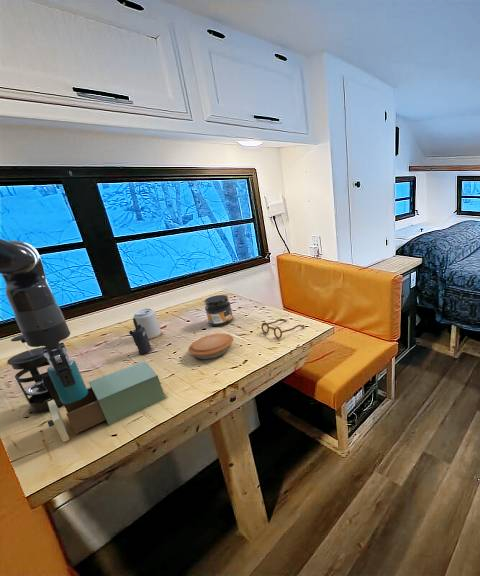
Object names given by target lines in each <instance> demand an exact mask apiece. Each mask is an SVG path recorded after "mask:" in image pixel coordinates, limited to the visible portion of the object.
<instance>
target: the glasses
mask: <svg viewBox="0 0 480 576" xmlns="http://www.w3.org/2000/svg"><path fill="white" fill-rule="evenodd" d="M280 321H283V322H287V320H286V319H284V318H279V319H277V320H275V321H271V322H262V323H261V331H262V333H264V334H268V333H269V331H270V330H273V334H274V337H275V338H276V339H281V338H282V337H283V333H286V332H287V333H288V332H290V331H294V330H295V329H297V328H299V327H300V328H302V329H304V328H305V326H303V325H302V324H297V325H295V326H294V327H292V328H288V329H285V330H282V329H281V328H280V327H279V326H277V327H272V326H269V325H272V324H276V323H278V322H280ZM264 326H266V328H267V330H266V331H265V329H264ZM276 330H279V333H280V334H279V336H278V335H277V333H276Z"/></svg>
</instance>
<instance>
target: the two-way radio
mask: <svg viewBox="0 0 480 576" xmlns="http://www.w3.org/2000/svg"><path fill="white" fill-rule="evenodd" d="M132 321H133V325H134V328H135V329H133V330H129V331H128V333H129V335H130V336H131V337H132V340H133V342H134V345H135V346H136V348H137V350H138V353H139V355H147V354H148V353H150V352H151V349H152V346H151V343H150V339H148V336H147V334H146V331H145V328H144V327H142V326H141V325H140V324H139V325H138V324H137V322H136V319H135V318H132Z"/></svg>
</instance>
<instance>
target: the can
mask: <svg viewBox="0 0 480 576" xmlns="http://www.w3.org/2000/svg"><path fill="white" fill-rule="evenodd" d="M133 314H134V315H133V318H135V319H136V322H137V324H138V325H139V324H140V325H141V326H142V327H144V328H145V331H146V334H147V336H148V339H149V340H152V339H155V338H158V337H159V336H160V335H161V333H162V329H161V326H160V323H159V320H158V317H157V313H156V311H154V310H153V308H143V309H139V310H136V311H135V312H134V313H133ZM133 318H132V319H133Z"/></svg>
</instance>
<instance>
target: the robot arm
mask: <svg viewBox="0 0 480 576" xmlns="http://www.w3.org/2000/svg"><path fill="white" fill-rule="evenodd" d="M43 264H44V263H43V261H42V258H41V256H40V254H39V252H38V250H37V249H36V247H34V246H33V245H31V244H29V243H28V242H24V241H21V240H4V239H3V238H0V275H1V276H2V278H3V280H4V282H5V295H6V298H7V300H8V303H9V305H10V307H11V309H12V311H13V314H14V318H15V322H16V324H17V326H18V328H19V330H20V332H21V335H23V336H24V339H25V341H26V344H27V346H28V347H31V348H41V347H44V348H42V351H43V354H44V356H45V357H46V358H47V359H48V362H49V364H50V365H49V367H50V366H51V367H52V368H54V369H55V371H56V375H58V377H59V378H60V380H61V382H62V384H63V386H64V387H69V386H71V385H74V384H75V380H74V378H73V376H72V373H71V371H72V369H71V368H70V367H69V365H68V363H69V362H70V360H71V359H70V357H69V356H68V353H67V352H68V350H67V347H66V345H65V343H64V340H66V339H68V338H69V337H70V336H71V330H70V328H69V326H68V324H67V321H66V318H65V317H64V314H63V311H62V308H60V306H59V304H58V303H57V300H56V298H55V296H54V293H53V291H52V288H51V287H50V285H49V283H48V281H47V276H46V272H45V268H44V265H43ZM62 367H67V368H66V369H63V370H60V371H59V370H58V369H59V368H62Z"/></svg>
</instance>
